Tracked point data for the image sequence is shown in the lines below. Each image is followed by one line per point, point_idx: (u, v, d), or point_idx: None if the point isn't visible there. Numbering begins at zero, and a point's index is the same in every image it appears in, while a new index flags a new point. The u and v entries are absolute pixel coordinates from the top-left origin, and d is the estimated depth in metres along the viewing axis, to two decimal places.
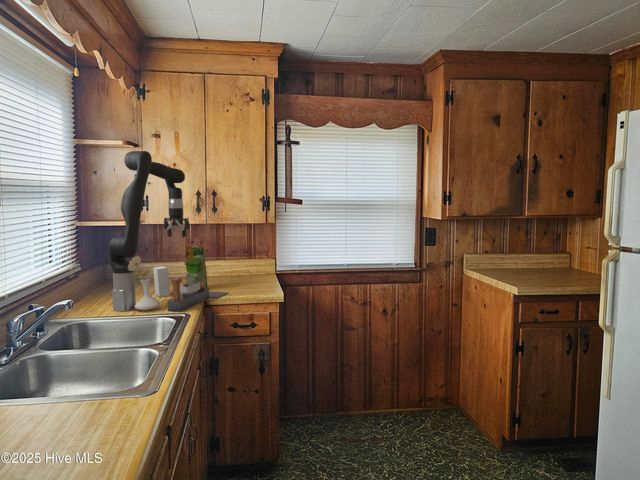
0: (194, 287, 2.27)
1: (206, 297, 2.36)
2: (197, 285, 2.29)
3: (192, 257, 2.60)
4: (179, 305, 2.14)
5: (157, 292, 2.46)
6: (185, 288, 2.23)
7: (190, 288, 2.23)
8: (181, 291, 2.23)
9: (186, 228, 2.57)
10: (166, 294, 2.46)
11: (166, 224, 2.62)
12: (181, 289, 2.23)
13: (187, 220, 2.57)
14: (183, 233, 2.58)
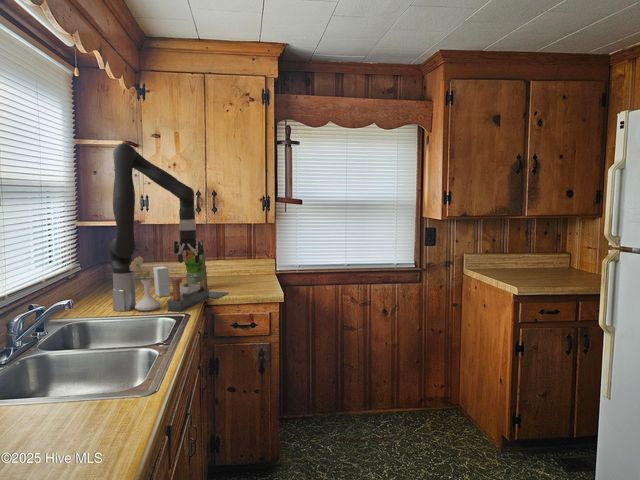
0: (194, 287, 2.27)
1: (206, 297, 2.36)
2: (197, 285, 2.29)
3: (192, 257, 2.60)
4: (179, 305, 2.14)
5: (157, 292, 2.46)
6: (185, 288, 2.23)
7: (190, 288, 2.23)
8: (181, 291, 2.23)
9: (200, 253, 2.23)
10: (166, 294, 2.46)
11: None
12: (181, 289, 2.23)
13: (201, 244, 2.23)
14: (196, 259, 2.24)
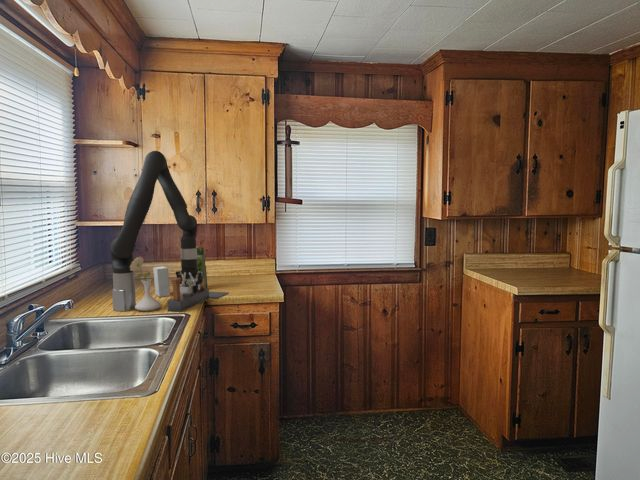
0: None
1: (206, 297, 2.36)
2: None
3: None
4: (179, 305, 2.14)
5: (157, 292, 2.46)
6: (185, 288, 2.23)
7: (190, 288, 2.23)
8: (181, 291, 2.23)
9: (198, 283, 2.25)
10: (166, 294, 2.46)
11: None
12: (181, 289, 2.23)
13: (201, 275, 2.25)
14: (195, 289, 2.26)
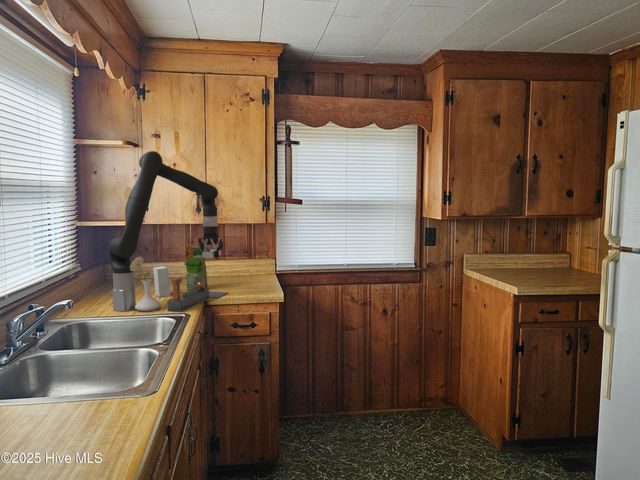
0: None
1: (206, 297, 2.36)
2: None
3: (192, 257, 2.60)
4: (179, 305, 2.14)
5: (157, 292, 2.46)
6: (207, 253, 2.40)
7: (212, 253, 2.40)
8: (203, 256, 2.40)
9: (219, 249, 2.42)
10: (166, 294, 2.46)
11: None
12: (203, 254, 2.40)
13: (222, 241, 2.42)
14: (216, 254, 2.43)
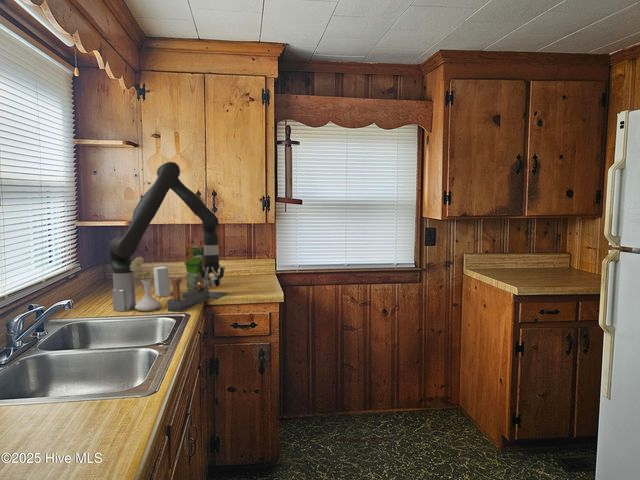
0: None
1: (206, 297, 2.36)
2: None
3: (192, 257, 2.60)
4: (179, 305, 2.14)
5: (157, 292, 2.46)
6: (208, 281, 2.42)
7: (213, 281, 2.42)
8: (204, 284, 2.42)
9: (220, 277, 2.44)
10: (166, 294, 2.46)
11: None
12: (204, 282, 2.42)
13: (223, 270, 2.44)
14: (217, 282, 2.45)
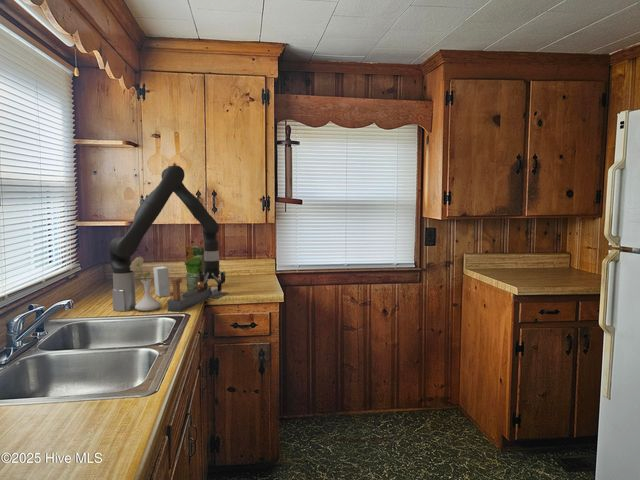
0: (216, 291, 2.46)
1: (206, 297, 2.36)
2: None
3: (192, 257, 2.60)
4: (179, 305, 2.14)
5: (157, 292, 2.46)
6: None
7: (213, 292, 2.43)
8: None
9: (222, 282, 2.44)
10: (166, 294, 2.46)
11: None
12: None
13: (224, 274, 2.44)
14: (219, 287, 2.45)
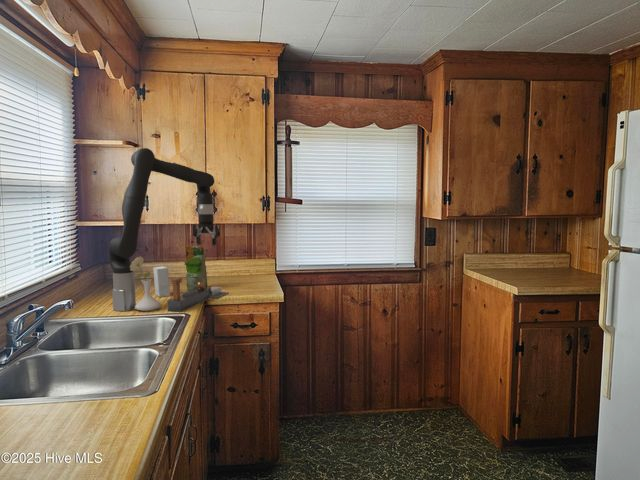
0: (216, 291, 2.46)
1: (206, 297, 2.36)
2: (219, 289, 2.49)
3: (192, 257, 2.60)
4: (179, 305, 2.14)
5: (157, 292, 2.46)
6: None
7: (213, 292, 2.43)
8: None
9: (217, 236, 2.40)
10: (166, 294, 2.46)
11: (195, 231, 2.45)
12: None
13: (218, 228, 2.41)
14: (213, 241, 2.41)
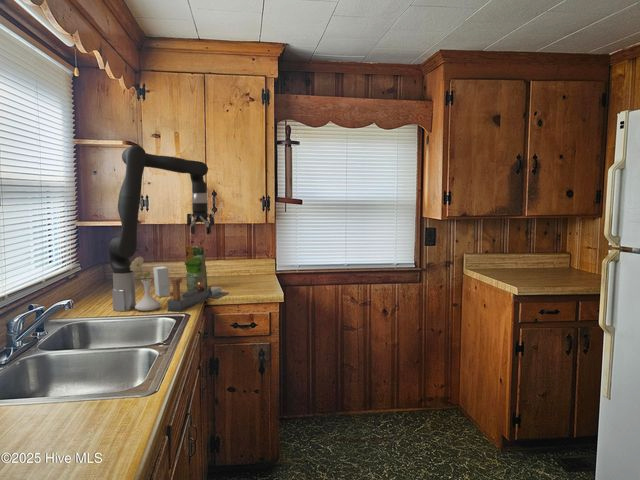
0: (216, 291, 2.46)
1: (206, 297, 2.36)
2: (219, 289, 2.49)
3: (192, 257, 2.60)
4: (179, 305, 2.14)
5: (157, 292, 2.46)
6: None
7: (213, 292, 2.43)
8: None
9: (211, 225, 2.39)
10: (166, 294, 2.46)
11: None
12: None
13: (212, 216, 2.39)
14: (208, 230, 2.40)
